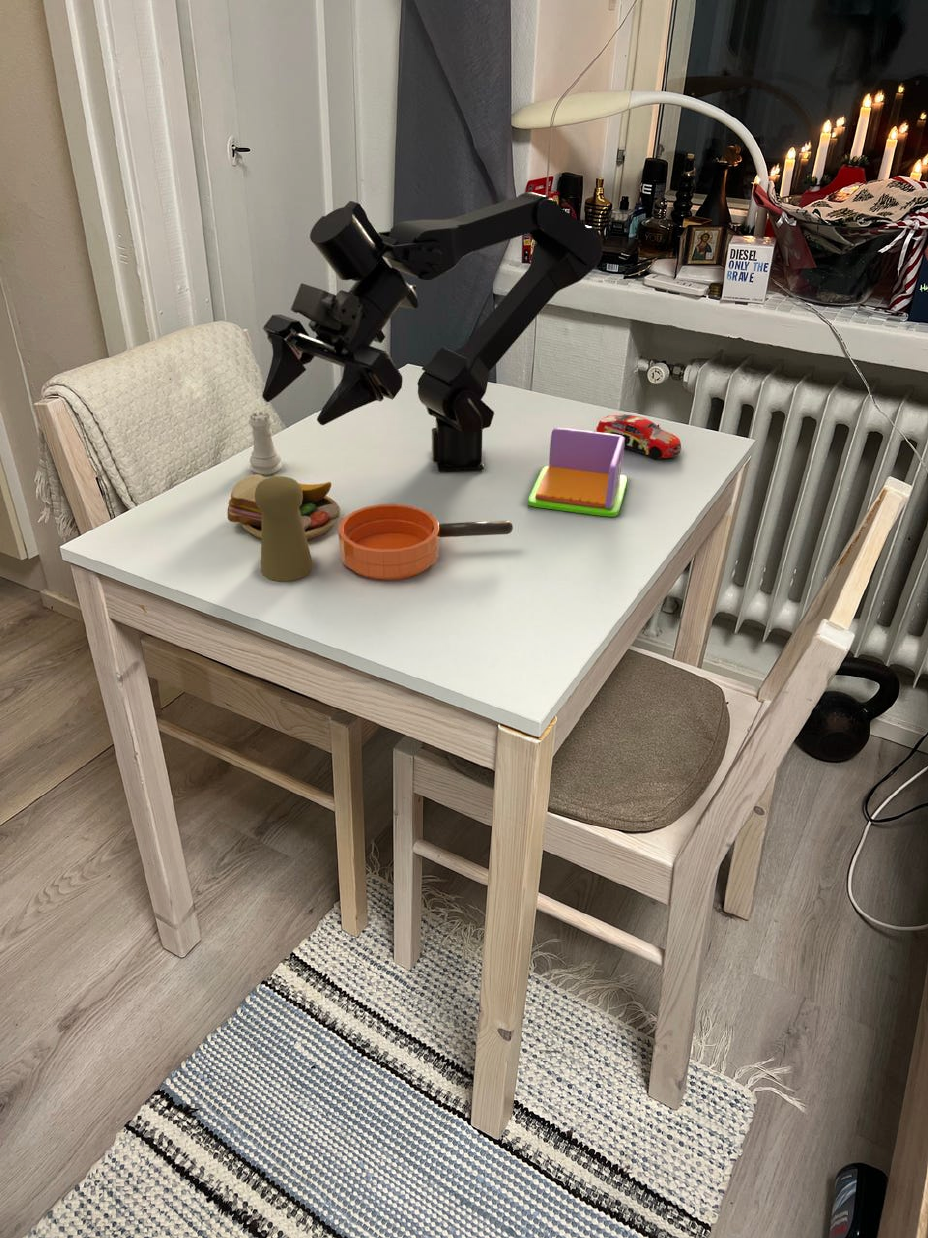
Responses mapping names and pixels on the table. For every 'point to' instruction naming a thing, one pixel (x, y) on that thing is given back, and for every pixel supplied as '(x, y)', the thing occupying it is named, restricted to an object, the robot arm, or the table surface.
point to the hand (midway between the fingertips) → (291, 410)
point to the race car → (641, 435)
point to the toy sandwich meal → (313, 510)
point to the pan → (389, 541)
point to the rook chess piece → (263, 446)
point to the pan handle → (474, 528)
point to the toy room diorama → (582, 473)
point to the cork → (282, 530)
